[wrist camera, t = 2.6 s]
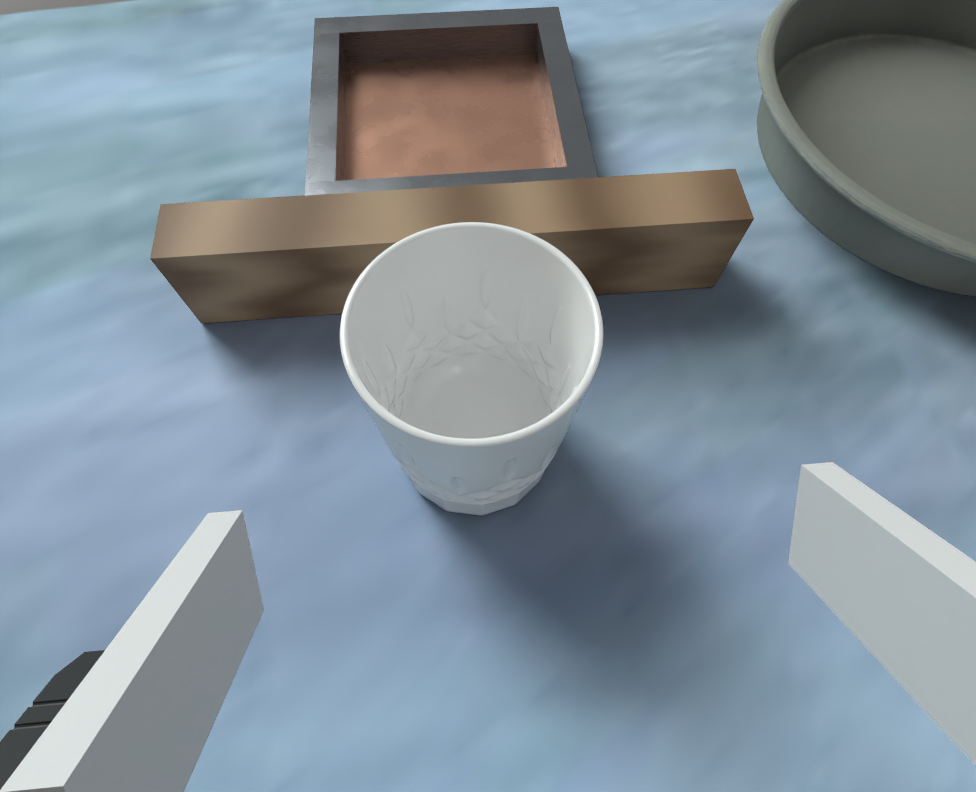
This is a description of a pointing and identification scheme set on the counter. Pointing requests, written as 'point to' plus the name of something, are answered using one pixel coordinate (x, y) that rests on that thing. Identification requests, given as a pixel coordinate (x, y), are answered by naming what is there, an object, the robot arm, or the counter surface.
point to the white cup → (472, 358)
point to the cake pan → (877, 129)
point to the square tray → (443, 102)
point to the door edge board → (400, 213)
